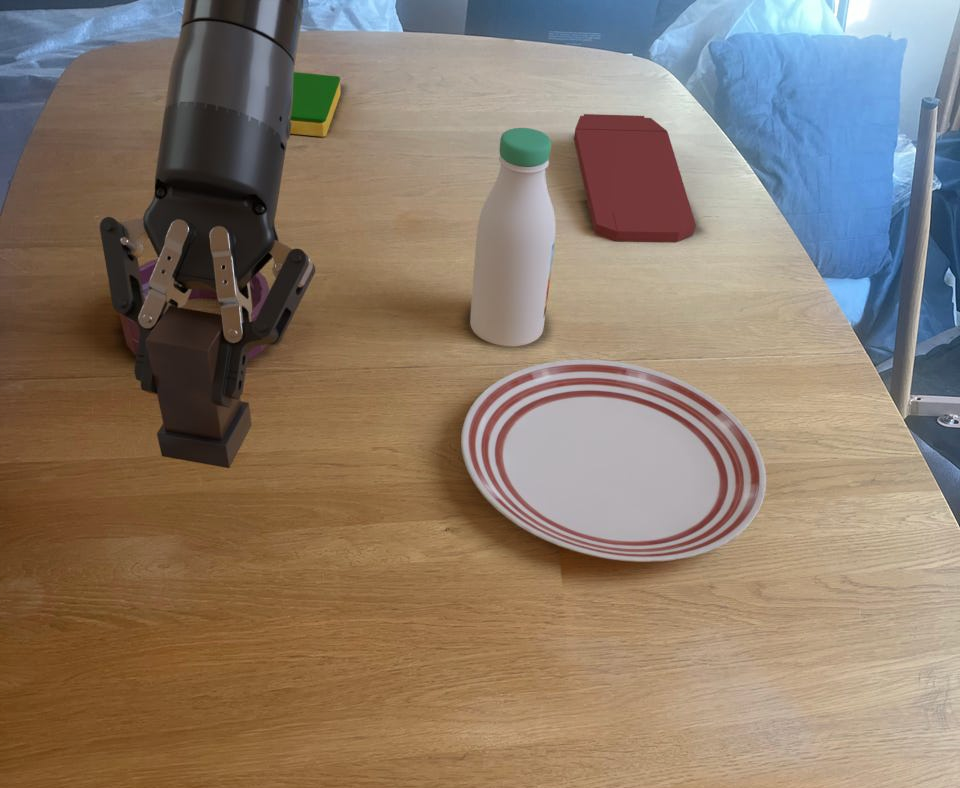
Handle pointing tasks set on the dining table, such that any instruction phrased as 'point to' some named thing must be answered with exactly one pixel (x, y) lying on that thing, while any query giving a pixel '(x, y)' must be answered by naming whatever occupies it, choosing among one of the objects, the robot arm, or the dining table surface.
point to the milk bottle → (515, 244)
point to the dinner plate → (613, 460)
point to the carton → (632, 179)
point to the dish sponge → (313, 103)
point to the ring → (257, 289)
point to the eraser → (193, 390)
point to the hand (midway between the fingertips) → (186, 397)
